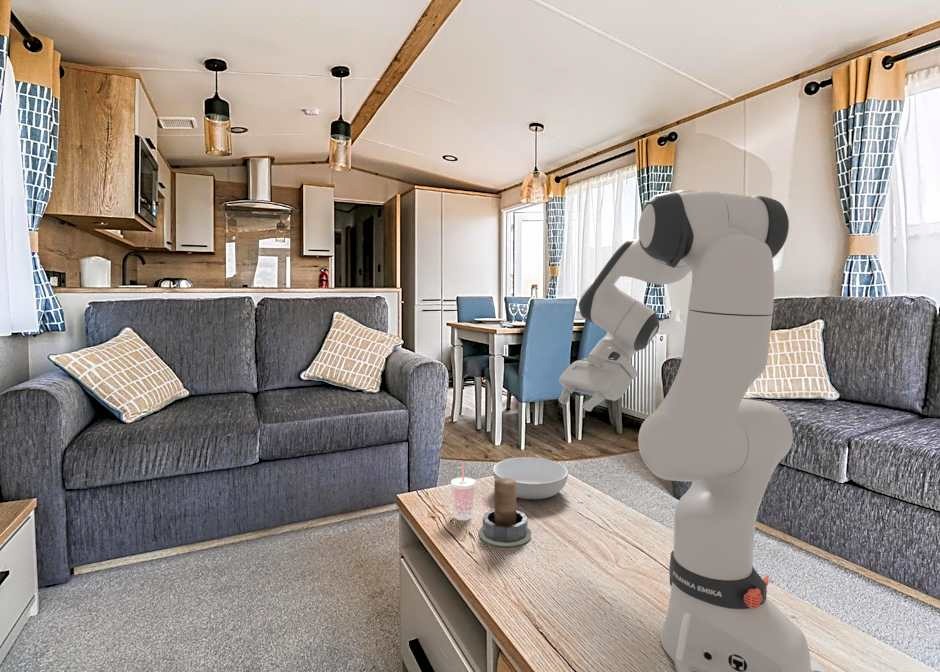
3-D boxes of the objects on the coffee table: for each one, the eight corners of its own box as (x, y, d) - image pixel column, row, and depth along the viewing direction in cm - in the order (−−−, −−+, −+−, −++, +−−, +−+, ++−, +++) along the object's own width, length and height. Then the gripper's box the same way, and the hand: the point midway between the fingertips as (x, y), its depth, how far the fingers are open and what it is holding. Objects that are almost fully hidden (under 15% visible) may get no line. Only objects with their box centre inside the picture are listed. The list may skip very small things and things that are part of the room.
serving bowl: (484, 502, 137) (483, 477, 137) (503, 476, 157) (503, 454, 157) (562, 512, 131) (562, 486, 130) (572, 483, 151) (572, 460, 150)
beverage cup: (480, 517, 128) (480, 463, 127) (459, 523, 125) (458, 467, 123) (467, 509, 133) (467, 456, 132) (446, 514, 130) (446, 460, 129)
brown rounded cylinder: (520, 532, 119) (520, 481, 118) (506, 539, 115) (506, 487, 114) (504, 525, 122) (504, 476, 121) (490, 532, 119) (489, 481, 118)
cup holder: (541, 534, 119) (541, 517, 118) (507, 553, 110) (507, 534, 110) (503, 518, 127) (503, 502, 127) (468, 534, 119) (468, 517, 119)
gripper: (573, 350, 132) (541, 390, 129) (628, 356, 114) (592, 404, 110) (587, 366, 134) (556, 406, 131) (643, 375, 116) (609, 422, 112)
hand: (573, 405), depth 120 cm, fingers open, 8 cm apart
